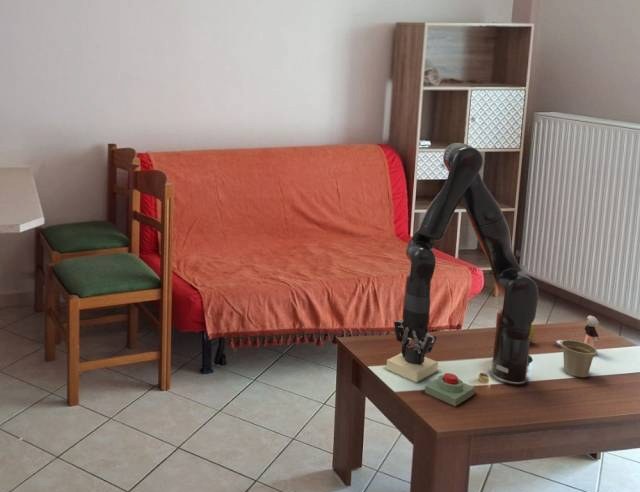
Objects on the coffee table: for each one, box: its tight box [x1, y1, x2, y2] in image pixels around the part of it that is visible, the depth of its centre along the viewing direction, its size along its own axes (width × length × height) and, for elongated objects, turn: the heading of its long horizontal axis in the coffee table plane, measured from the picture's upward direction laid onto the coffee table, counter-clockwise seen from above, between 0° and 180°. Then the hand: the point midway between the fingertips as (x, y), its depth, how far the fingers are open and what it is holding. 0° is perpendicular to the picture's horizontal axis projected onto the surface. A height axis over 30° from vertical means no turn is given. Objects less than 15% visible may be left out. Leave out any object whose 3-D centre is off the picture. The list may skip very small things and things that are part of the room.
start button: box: [443, 372, 458, 384], centre depth 198 cm, size 4×4×2 cm
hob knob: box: [405, 343, 417, 364], centre depth 211 cm, size 4×4×5 cm
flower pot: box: [560, 339, 598, 378], centre depth 212 cm, size 9×9×9 cm
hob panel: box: [385, 352, 439, 383], centre depth 212 cm, size 12×10×3 cm
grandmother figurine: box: [583, 315, 600, 348], centre depth 226 cm, size 8×4×13 cm, turn 5°
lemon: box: [530, 324, 535, 342], centre depth 232 cm, size 6×6×8 cm
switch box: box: [424, 374, 476, 407], centre depth 198 cm, size 11×9×4 cm
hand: (412, 359), depth 212 cm, fingers closed on hob knob, 4 cm apart
